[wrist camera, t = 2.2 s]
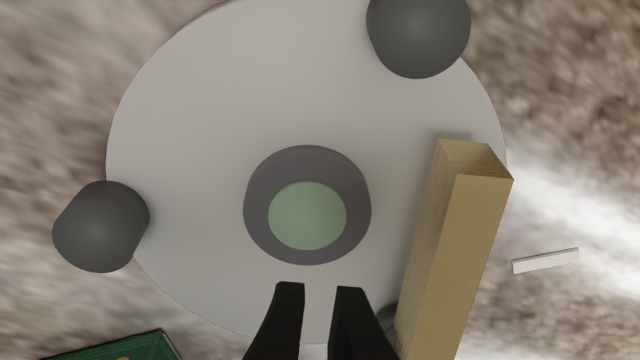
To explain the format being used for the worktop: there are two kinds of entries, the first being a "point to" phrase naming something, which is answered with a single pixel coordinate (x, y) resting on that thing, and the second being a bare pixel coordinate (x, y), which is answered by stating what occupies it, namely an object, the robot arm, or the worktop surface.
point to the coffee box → (129, 349)
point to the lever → (448, 250)
